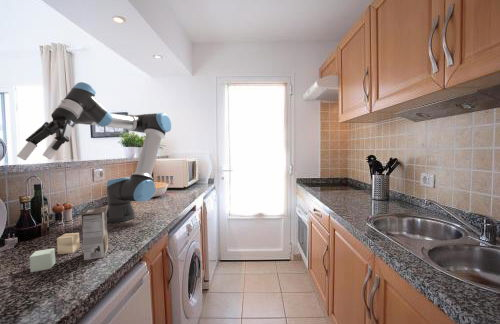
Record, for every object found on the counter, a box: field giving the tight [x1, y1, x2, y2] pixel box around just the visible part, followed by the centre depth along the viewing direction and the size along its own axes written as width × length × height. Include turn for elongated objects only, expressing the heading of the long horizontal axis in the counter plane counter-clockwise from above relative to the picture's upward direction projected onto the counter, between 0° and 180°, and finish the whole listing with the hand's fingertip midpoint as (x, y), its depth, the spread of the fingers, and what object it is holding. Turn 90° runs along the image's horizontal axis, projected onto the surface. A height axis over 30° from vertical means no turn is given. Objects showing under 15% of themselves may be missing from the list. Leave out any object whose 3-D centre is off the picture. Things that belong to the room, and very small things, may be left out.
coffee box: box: [81, 207, 109, 261], centre depth 87 cm, size 9×6×16 cm
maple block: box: [56, 232, 81, 255], centre depth 91 cm, size 5×5×6 cm
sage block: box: [29, 247, 56, 273], centre depth 78 cm, size 5×5×5 cm
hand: (33, 157), depth 84 cm, fingers open, 13 cm apart
